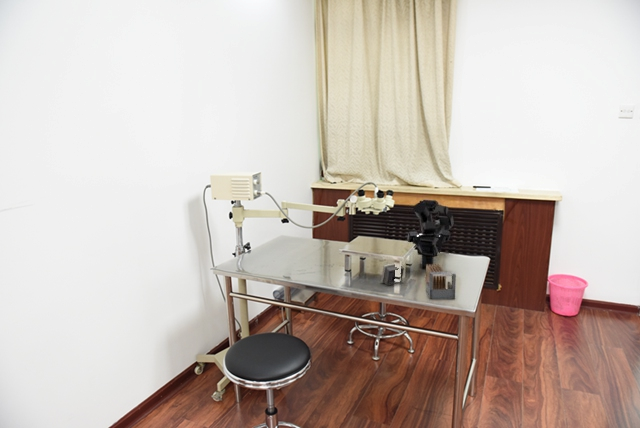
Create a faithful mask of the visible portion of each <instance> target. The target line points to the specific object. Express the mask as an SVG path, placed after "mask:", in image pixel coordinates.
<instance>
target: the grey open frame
mask: <svg viewBox="0 0 640 428" xmlns="http://www.w3.org/2000/svg"><path fill="white" fill-rule="evenodd" d="M433 276H446V277H451V282H450V281H447V283H446V284H447V285H446V286H447V287H446V289H433ZM456 277H457V275H456V273H453V272H452V271H444V272H431V274H429V283H428V282H426V281H425V292H426V294H427V296H428V299H429V300H455V299H456V284H457V283H456V280H457V279H456Z"/></svg>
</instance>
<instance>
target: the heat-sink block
mask: <svg viewBox="0 0 640 428" xmlns="http://www.w3.org/2000/svg"><path fill="white" fill-rule="evenodd" d="M431 272H445V271H444V270H443V268H442V267H441V265H440V264H439V263H438V264H436V263H434V265H433V264H432V266H431V264H429V266H428V264H426V269H425V273H426V274H425V277H424V278H425V280H424V281H425V283H426V282H428V283H429V274H431ZM446 279H447V276H433V289H447V287H446V286H447V285H446V284H447V280H446Z"/></svg>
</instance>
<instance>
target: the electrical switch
mask: <svg viewBox="0 0 640 428" xmlns="http://www.w3.org/2000/svg"><path fill="white" fill-rule="evenodd" d="M395 263H396V262H395ZM395 263H389V264H384V265H383V267H382V272H381V279H380V283H382V284H385V285H386V286H391V285H394V279H395V270H398V269H399V268H397V267H395ZM404 271H405V267H404V266H403V265H402V266H401V273H400V274H401V281H400V282H402V280H403V275H404Z"/></svg>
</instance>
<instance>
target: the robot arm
mask: <svg viewBox="0 0 640 428" xmlns="http://www.w3.org/2000/svg"><path fill="white" fill-rule="evenodd" d="M413 212H414V213H415V215H416V217H417V218H419V223H420V229H421V233H418V231H415V230H414V231H409V232H408V233H407V243H412V245H413V244H414V245H415V246H416V252H417V255H419V256H421V263H419V266H420V267H421V270H424V269H425V270H426V264H428V266H429V264H431V266H432V264H433V265H434V266H435V263H434V258H435V257H438V255H439V254H440V253H441V251H442V245H443V244H444V243H445V242H449V241H450V238H451V235H452V234H451V232H450V231H449V230H450V229H451V228H452V227H453V226H454V223H455V221H454V217H453V213H451V212H450V211H449V207H448V206H446V205H442V204H440V203H439V201H438V200H436V199H435V200H434V199H423V200H419V202H418V203H416V204H415V205H414V206H413ZM432 213H436V215H435V216H434V219H435V220H434V221H433V215H432ZM439 214H445V216H442V215H441V216H440V215H439ZM436 244H437V246H438V247H437V246H436Z"/></svg>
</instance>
